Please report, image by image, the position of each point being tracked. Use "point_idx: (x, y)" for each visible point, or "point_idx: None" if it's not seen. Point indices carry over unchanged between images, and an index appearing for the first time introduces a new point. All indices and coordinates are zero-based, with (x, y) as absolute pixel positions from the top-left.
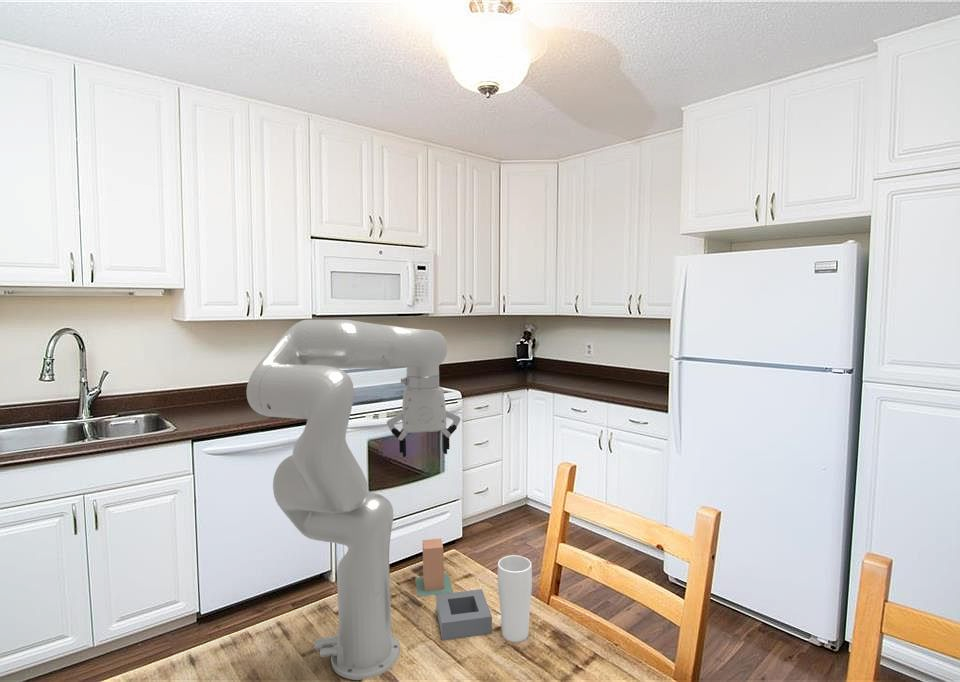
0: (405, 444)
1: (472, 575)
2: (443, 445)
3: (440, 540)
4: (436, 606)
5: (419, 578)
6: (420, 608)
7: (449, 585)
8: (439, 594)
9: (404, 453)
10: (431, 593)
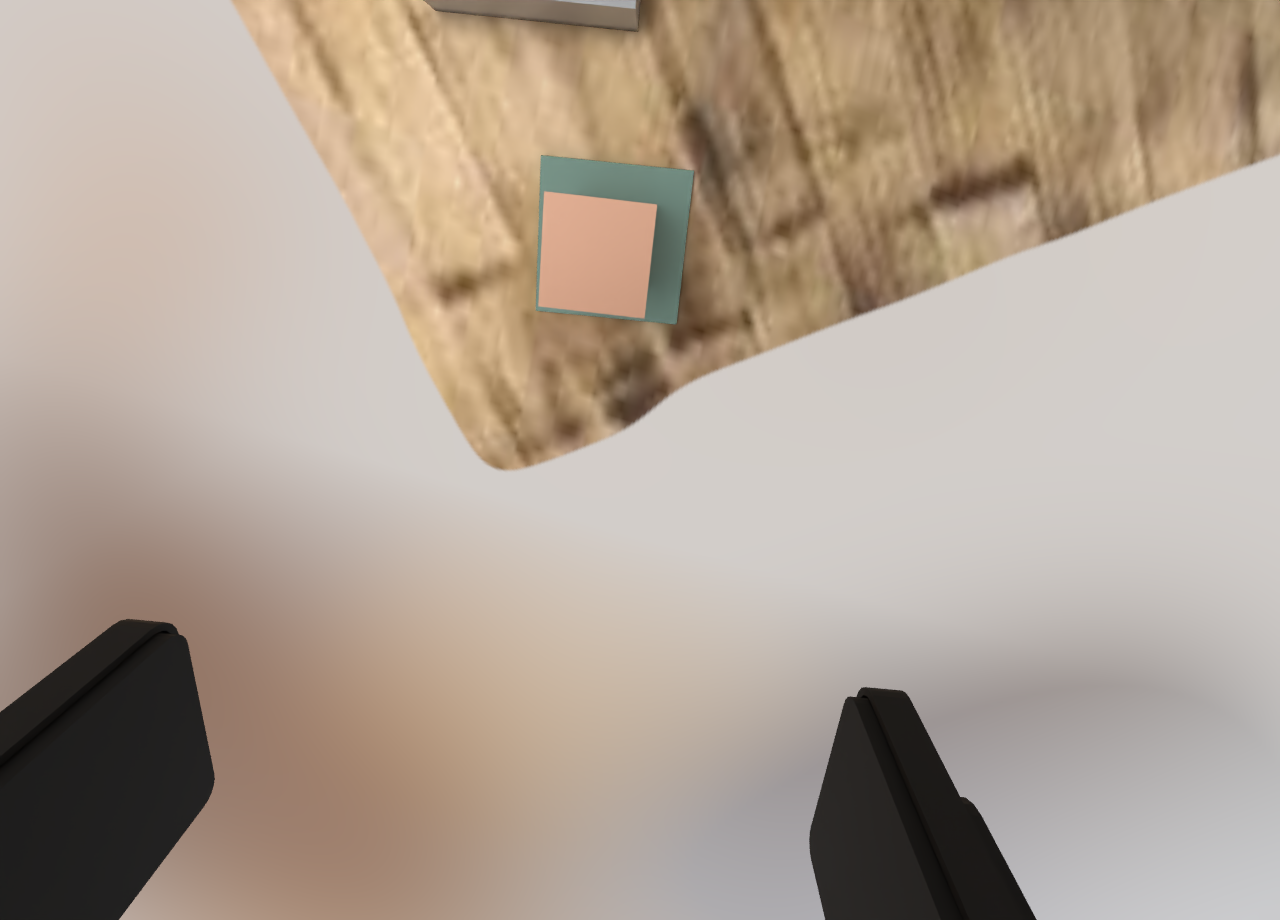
0: (943, 905)
1: (436, 282)
2: (88, 788)
3: (546, 282)
4: (637, 13)
5: (659, 313)
6: (696, 90)
7: None
8: (619, 3)
9: (899, 728)
10: (632, 177)
